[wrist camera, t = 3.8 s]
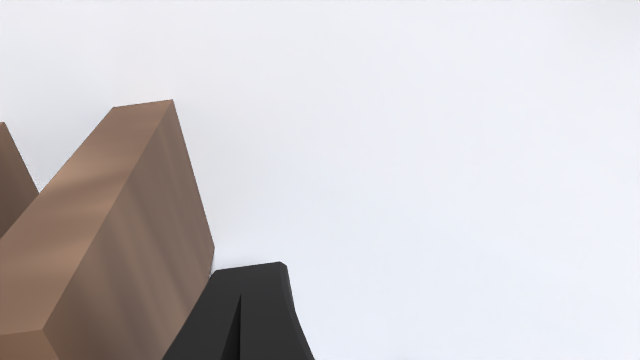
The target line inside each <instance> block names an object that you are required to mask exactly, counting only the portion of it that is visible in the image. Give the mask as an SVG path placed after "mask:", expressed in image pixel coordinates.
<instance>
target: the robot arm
mask: <svg viewBox="0 0 640 360" xmlns="http://www.w3.org/2000/svg"><path fill="white" fill-rule="evenodd" d="M162 360H315V359H314V357H313V355H312V353H311V350H310V348H309V345H308V343H307V340H306V338H305V336H304V333H303V331H302V328H301V326H300V323H299V320H298V318H297V315H296V312H295V307H294V302H293V296H292V291H291V286H290V280H289V275H288V270H287V266H286V265H285V264H283V263H282V262H273V263H266V264H258V265H251V266H243V267H236V268H229V269H221V270H216V271H215V272H214V273H213V274H212V275H211V277H210V279H209V281H208V283H207V284H206V286H205V288H204V290H203V292H202V293H201V295H200V297H199V299H198V300H197V302H196V304H195V306H194V307H193V309H192V311H191V313H190V314H189V316H188V318H187V319H186V321H185V323H184V324H183V326H182V328H181V329H180V331H179V333H178V334H177V336H176V337H175V339H174V341H173V342H172V344H171V345H170V347H169V349H168V350H167V352H166V353H165V355H164V356H163V358H162Z"/></svg>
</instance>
